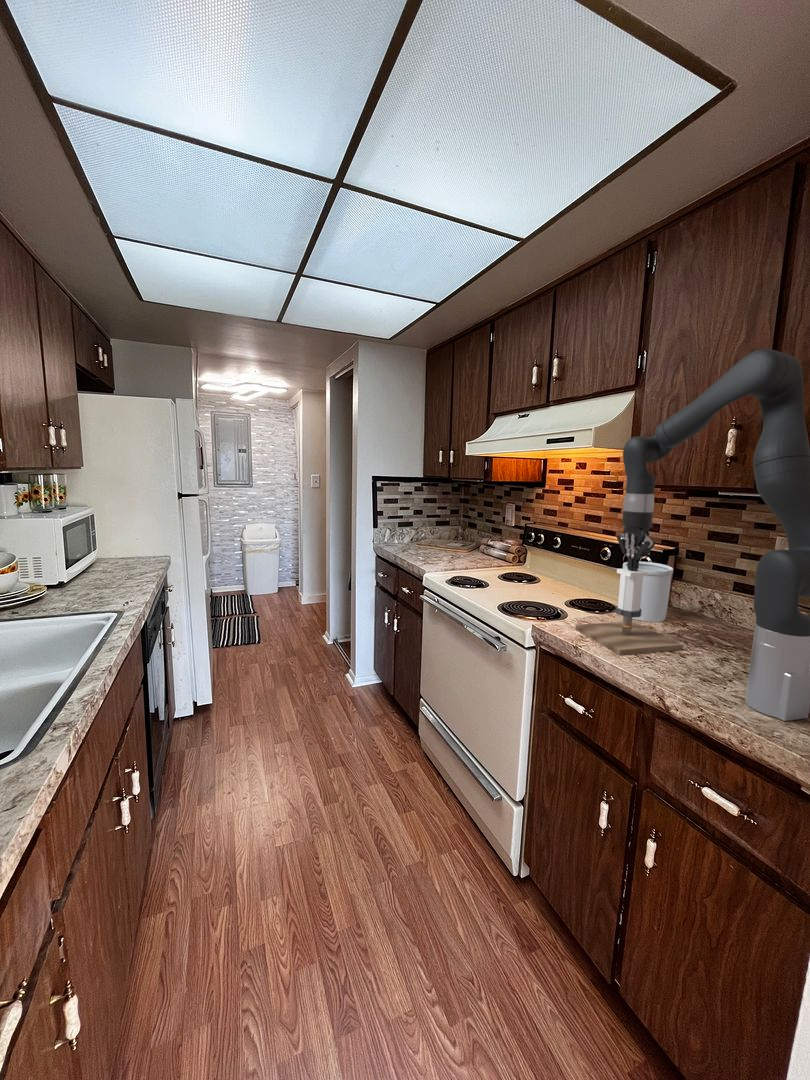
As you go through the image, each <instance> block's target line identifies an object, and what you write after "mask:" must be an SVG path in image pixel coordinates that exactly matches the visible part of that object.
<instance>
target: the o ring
mask: <svg viewBox="0 0 810 1080" xmlns="http://www.w3.org/2000/svg"><path fill="white" fill-rule="evenodd" d="M641 610H642V609H640V610H639V611H625V610H622V609H619V608H618V605H616V607H615V613H616V615H620V616H622V617H623V616H626V617H640V616H641Z"/></svg>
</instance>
